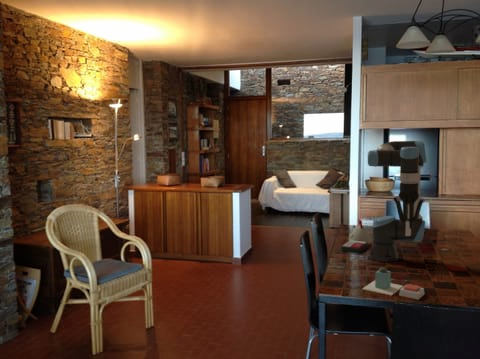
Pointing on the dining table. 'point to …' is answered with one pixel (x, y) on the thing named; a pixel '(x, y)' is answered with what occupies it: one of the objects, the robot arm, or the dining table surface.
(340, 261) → the dining table surface
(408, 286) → the button
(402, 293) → the button base
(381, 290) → the note pad
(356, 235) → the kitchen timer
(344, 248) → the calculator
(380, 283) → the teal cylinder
